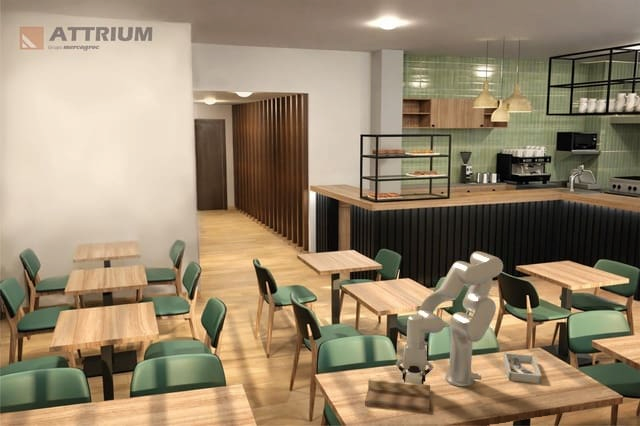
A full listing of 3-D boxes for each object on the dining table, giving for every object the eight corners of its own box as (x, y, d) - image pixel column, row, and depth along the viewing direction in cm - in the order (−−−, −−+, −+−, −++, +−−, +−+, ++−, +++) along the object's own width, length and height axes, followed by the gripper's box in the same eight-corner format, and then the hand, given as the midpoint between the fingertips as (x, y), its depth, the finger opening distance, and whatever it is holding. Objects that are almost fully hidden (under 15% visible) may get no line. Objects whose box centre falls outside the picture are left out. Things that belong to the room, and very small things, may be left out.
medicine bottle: (421, 393, 240) (422, 367, 238) (404, 391, 241) (405, 365, 239) (422, 385, 246) (423, 360, 244) (405, 384, 248) (406, 358, 246)
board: (429, 398, 235) (430, 385, 235) (428, 412, 224) (429, 398, 223) (368, 391, 241) (368, 378, 240) (364, 405, 229) (365, 391, 228)
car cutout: (505, 364, 269) (506, 355, 268) (517, 362, 271) (518, 354, 270) (525, 378, 255) (525, 368, 254) (537, 376, 256) (538, 367, 256)
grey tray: (533, 362, 272) (533, 355, 272) (541, 383, 250) (541, 376, 249) (503, 359, 275) (503, 352, 275) (508, 380, 253) (509, 372, 252)
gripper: (435, 342, 242) (434, 380, 245) (395, 338, 246) (394, 376, 249) (435, 348, 235) (433, 388, 238) (394, 345, 238) (393, 383, 241)
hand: (413, 381), depth 243 cm, fingers closed on medicine bottle, 7 cm apart
